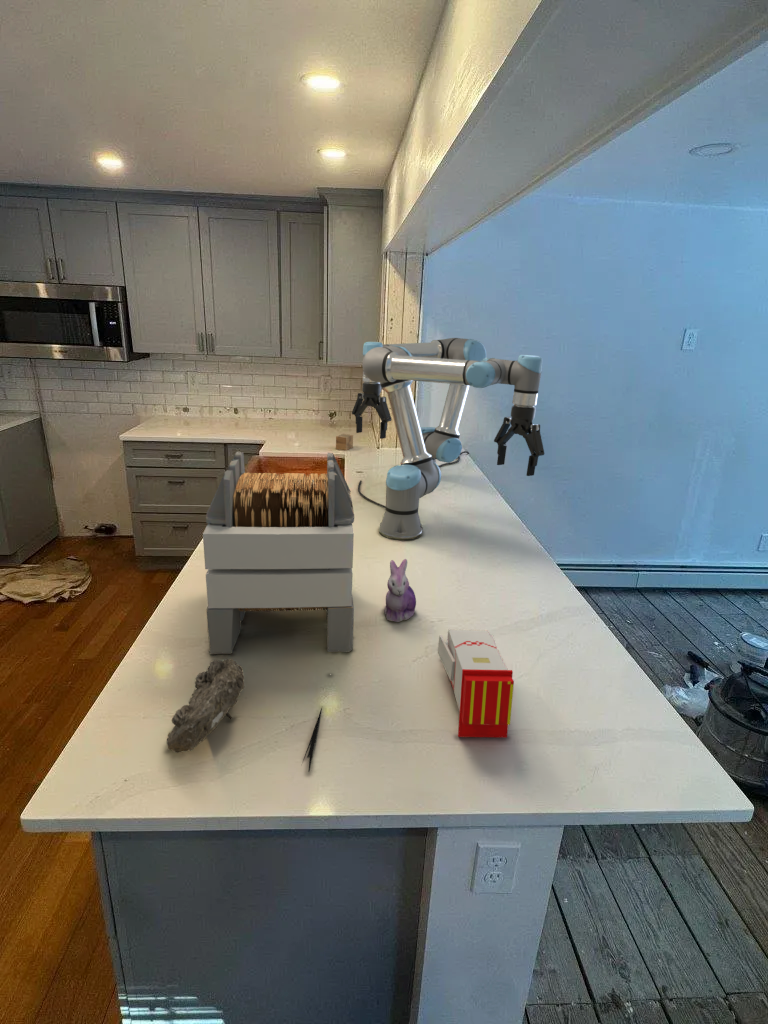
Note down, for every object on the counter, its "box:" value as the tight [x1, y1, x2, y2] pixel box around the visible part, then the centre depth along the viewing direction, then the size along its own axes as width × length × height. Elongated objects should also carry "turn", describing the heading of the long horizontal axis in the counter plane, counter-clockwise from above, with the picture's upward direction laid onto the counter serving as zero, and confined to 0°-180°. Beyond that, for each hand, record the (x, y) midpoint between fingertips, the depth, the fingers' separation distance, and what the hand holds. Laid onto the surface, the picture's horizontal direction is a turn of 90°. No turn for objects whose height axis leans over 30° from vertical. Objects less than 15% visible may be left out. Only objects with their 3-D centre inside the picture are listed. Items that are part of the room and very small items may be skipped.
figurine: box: [384, 558, 417, 623], centre depth 145 cm, size 9×10×15 cm
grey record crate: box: [202, 451, 355, 655], centre depth 137 cm, size 34×33×41 cm
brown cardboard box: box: [335, 433, 354, 451], centre depth 315 cm, size 9×6×7 cm
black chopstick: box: [301, 673, 332, 771], centre depth 108 cm, size 2×28×2 cm
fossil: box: [166, 658, 245, 754], centre depth 106 cm, size 22×10×15 cm
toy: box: [437, 628, 515, 738], centre depth 117 cm, size 12×13×30 cm
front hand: (514, 469), depth 188 cm, fingers open, 13 cm apart
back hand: (370, 435), depth 232 cm, fingers open, 13 cm apart
